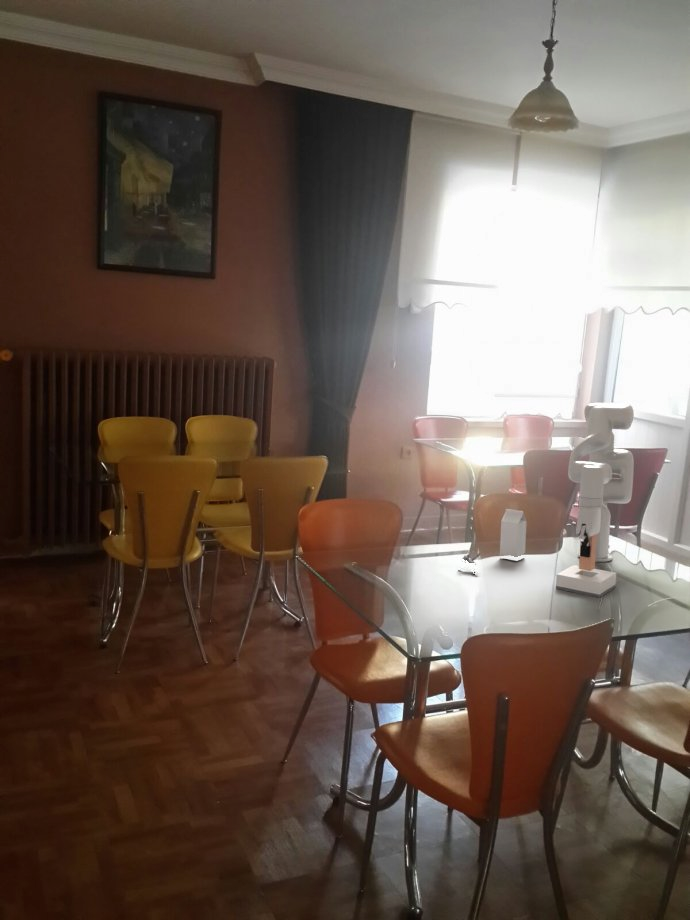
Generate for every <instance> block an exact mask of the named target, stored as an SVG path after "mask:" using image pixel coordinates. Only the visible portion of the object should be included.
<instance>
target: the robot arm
mask: <svg viewBox="0 0 690 920" xmlns="http://www.w3.org/2000/svg"><path fill="white" fill-rule="evenodd" d="M583 411H584V412H583V415H584V419H585V422H586V426H587V428H586V429H587V430H586V436H585V438H583V439H582V440H581V441H580V442H579V443H576V444H577V445H575V446H574V448H573V449H572V451H571V453H570V457H569V462H568V469H567V471H568V472H567V476H568V478H569V480H570V481H571V482H573V483H578V484H579V497H578V499H579V500H578V506H579V508H578V514H577V521H576V528H575V529H576V530H575V534H576V536H577V537H578V539H579V542H580V541H581V543H580V544H581V549H580V548H579V551H578V554H577V557H578V558H579V557H580V556H582V557H588V558H589V557H590V547H591V546H589V545H590V537H591V536H593V535H596V534H597V542H596V558H595V563H605V562H610V561H612V560H613V556H612V554H610V553H609V550H610V544H609V543H610V529H611V512H610V509H609V508H608V507H607V505H606V504H608V503H609V504H618V505H619V504H620V505H621V504H622V505H624V504H628V503H630V502H631V500H632V497H633V487H634V485H633V484H634V463H635V461H634V456H633V453H632V452H631V451H630V450H627V449H621V448H620V449H616V448H615V434H614V432H613V430H623V431H625V430H626V431H627V430H629V429H630V428H631V426H632V423H633V421H634V418H635V417H634V416H635V415H634V408H633V406H632V405H631V404H629V403H627V404H626V403H609V402H595V403H594V402H593V403H592V402H591V403H589V404H587V405H585V407H584V410H583ZM588 455H589V461H588V460H581V459H582V458H583V457H585V456H588ZM613 475H618V476H619V477H613ZM605 503H606V504H605ZM585 534H587V536H585ZM585 538H588V539H585ZM580 544H579V545H580Z"/></svg>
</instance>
